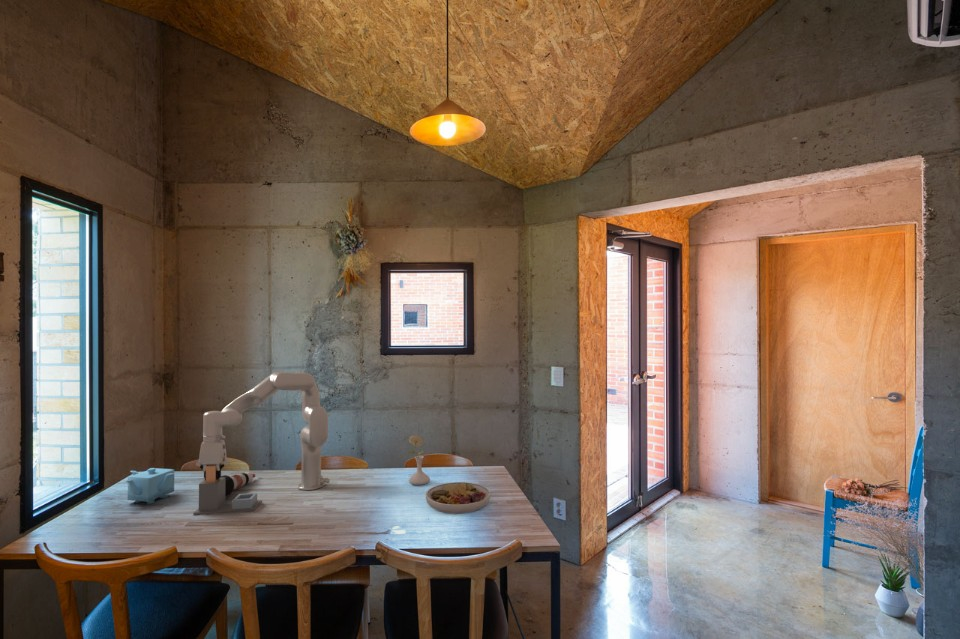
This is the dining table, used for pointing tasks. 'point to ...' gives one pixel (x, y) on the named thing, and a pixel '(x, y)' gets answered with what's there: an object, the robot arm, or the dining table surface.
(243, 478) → the cable
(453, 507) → the bowl
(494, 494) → the dining table surface
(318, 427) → the robot arm
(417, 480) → the flower in vase
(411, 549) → the dining table surface
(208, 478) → the peg
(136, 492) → the teakettle
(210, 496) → the socket stand
